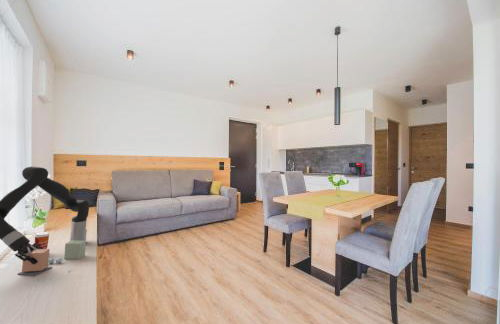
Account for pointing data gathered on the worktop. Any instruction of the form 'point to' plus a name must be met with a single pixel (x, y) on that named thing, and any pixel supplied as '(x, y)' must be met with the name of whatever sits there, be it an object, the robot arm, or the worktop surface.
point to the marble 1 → (51, 260)
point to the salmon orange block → (40, 256)
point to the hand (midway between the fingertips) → (39, 260)
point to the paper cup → (42, 239)
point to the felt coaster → (34, 272)
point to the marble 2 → (59, 260)
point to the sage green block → (75, 249)
